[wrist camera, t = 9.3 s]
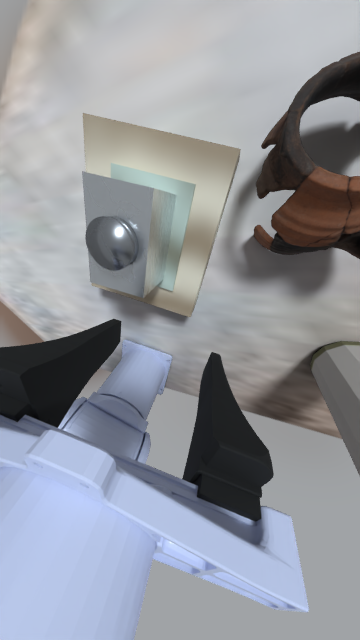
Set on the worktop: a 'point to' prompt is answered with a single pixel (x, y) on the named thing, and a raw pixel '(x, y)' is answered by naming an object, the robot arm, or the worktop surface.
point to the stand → (174, 177)
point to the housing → (127, 233)
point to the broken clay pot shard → (311, 176)
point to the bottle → (341, 390)
